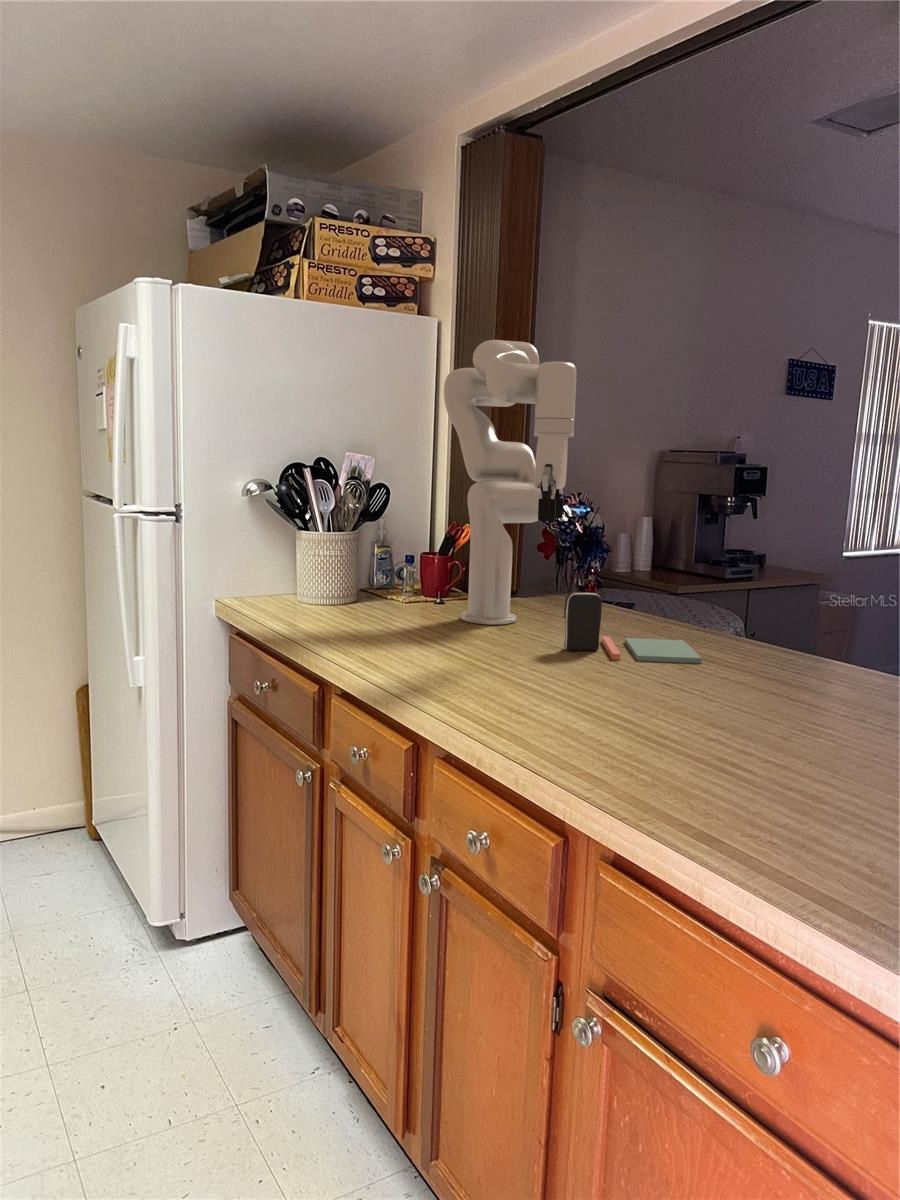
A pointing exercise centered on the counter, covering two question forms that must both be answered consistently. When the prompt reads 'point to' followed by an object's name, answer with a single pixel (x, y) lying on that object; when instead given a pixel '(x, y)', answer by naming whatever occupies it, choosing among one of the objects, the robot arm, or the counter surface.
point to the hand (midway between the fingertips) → (550, 519)
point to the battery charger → (582, 621)
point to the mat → (662, 650)
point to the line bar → (610, 648)
